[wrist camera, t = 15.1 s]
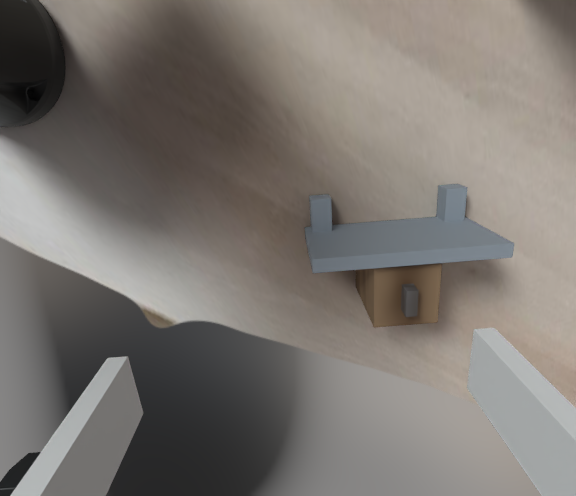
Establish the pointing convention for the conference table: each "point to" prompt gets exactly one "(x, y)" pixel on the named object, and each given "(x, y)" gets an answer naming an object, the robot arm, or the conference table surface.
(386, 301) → the cabinet block
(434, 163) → the conference table surface
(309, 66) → the conference table surface
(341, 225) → the wall board
